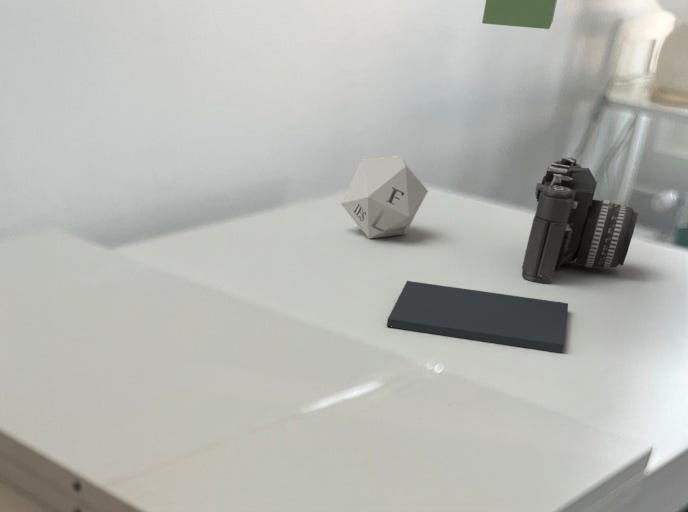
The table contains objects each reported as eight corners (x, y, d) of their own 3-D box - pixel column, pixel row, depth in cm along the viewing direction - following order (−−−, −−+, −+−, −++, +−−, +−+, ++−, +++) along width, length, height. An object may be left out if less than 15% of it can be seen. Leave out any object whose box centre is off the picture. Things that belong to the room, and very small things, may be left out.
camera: (620, 294, 107) (649, 193, 101) (513, 279, 109) (536, 179, 103) (622, 257, 118) (648, 163, 112) (525, 244, 120) (546, 152, 114)
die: (325, 239, 121) (365, 178, 112) (339, 183, 124) (378, 121, 115) (389, 268, 123) (433, 211, 114) (401, 213, 126) (444, 154, 117)
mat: (566, 311, 102) (568, 303, 101) (562, 353, 93) (564, 344, 92) (405, 288, 105) (406, 280, 105) (386, 326, 96) (387, 318, 96)
